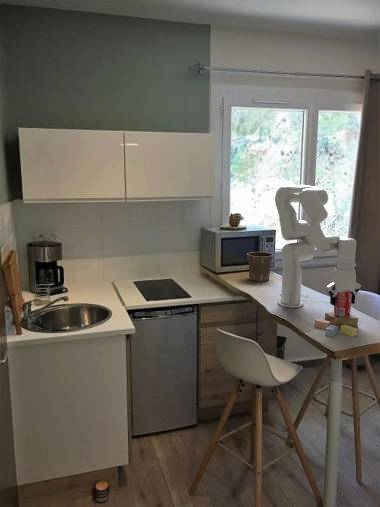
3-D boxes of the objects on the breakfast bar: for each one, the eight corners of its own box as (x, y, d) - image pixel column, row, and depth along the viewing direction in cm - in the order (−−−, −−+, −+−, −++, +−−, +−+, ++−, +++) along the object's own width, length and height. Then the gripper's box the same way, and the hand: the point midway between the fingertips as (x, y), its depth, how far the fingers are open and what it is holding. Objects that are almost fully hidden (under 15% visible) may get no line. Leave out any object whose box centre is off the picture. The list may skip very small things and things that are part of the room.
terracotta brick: (314, 326, 196) (314, 320, 195) (317, 324, 198) (317, 318, 197) (327, 330, 192) (327, 323, 191) (330, 328, 194) (330, 321, 193)
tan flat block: (324, 321, 202) (325, 312, 201) (343, 319, 205) (344, 311, 204) (337, 329, 192) (338, 320, 192) (357, 326, 195) (358, 318, 195)
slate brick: (331, 337, 184) (332, 330, 183) (325, 335, 186) (325, 328, 185) (337, 333, 188) (338, 326, 188) (331, 331, 190) (331, 324, 190)
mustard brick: (340, 332, 189) (340, 325, 188) (344, 331, 191) (345, 324, 190) (351, 337, 184) (352, 330, 183) (356, 335, 186) (357, 328, 185)
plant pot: (241, 277, 282) (242, 252, 279) (264, 275, 286) (265, 251, 283) (252, 283, 266) (253, 257, 263) (276, 281, 271) (278, 255, 268)
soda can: (346, 312, 202) (348, 287, 199) (352, 317, 195) (354, 291, 192) (331, 312, 201) (333, 287, 199) (336, 318, 194) (338, 291, 192)
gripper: (356, 263, 200) (353, 300, 203) (323, 265, 195) (320, 303, 198) (367, 267, 193) (364, 305, 196) (333, 269, 187) (330, 308, 191)
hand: (342, 304), depth 197 cm, fingers open, 9 cm apart
